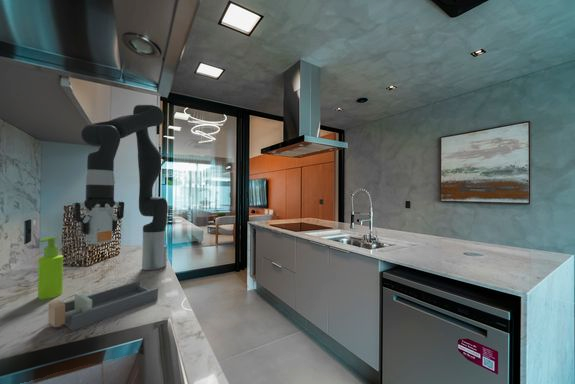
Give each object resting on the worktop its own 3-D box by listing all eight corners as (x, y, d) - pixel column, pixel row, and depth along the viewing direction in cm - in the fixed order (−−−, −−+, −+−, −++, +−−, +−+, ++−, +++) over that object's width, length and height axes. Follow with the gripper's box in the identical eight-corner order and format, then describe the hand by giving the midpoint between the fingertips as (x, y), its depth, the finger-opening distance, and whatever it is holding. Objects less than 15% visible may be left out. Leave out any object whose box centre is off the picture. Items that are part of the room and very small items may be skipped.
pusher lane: (139, 290, 85) (139, 280, 85) (157, 299, 79) (157, 288, 79) (56, 317, 67) (56, 304, 67) (72, 330, 60) (72, 316, 60)
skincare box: (95, 244, 76) (96, 207, 76) (85, 243, 77) (85, 207, 77) (113, 241, 82) (113, 206, 82) (103, 240, 83) (103, 206, 83)
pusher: (78, 308, 70) (79, 291, 70) (91, 318, 65) (92, 299, 65) (45, 319, 64) (46, 300, 64) (57, 330, 59) (57, 310, 59)
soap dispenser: (30, 301, 76) (31, 239, 76) (47, 292, 83) (48, 235, 83) (51, 300, 77) (52, 238, 77) (66, 291, 84) (67, 235, 84)
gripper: (119, 184, 88) (118, 229, 88) (68, 183, 76) (67, 234, 76) (129, 184, 84) (128, 231, 84) (77, 182, 72) (75, 237, 72)
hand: (99, 232), depth 80 cm, fingers closed on skincare box, 7 cm apart
